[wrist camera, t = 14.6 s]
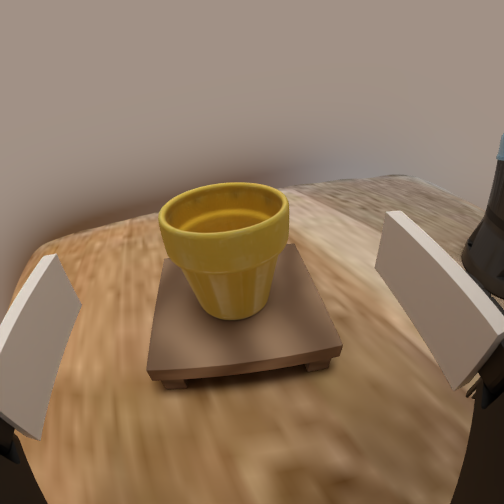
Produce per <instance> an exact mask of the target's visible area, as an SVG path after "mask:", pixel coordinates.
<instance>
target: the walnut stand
mask: <svg viewBox="0 0 504 504" xmlns="http://www.w3.org/2000/svg"><path fill="white" fill-rule="evenodd" d="M342 346H343V344H342V342H341V339H340V337H339V335H338V333H337V331H336V329H335V326H334V324H333V322H332V320H331V318H330V316H329V313H328V311H327V309H326V307H325V305H324V303H323V301H322V299H321V297H320V294H319V292H318V290H317V288H316V286H315V284H314V282H313V280H312V278H311V276H310V274H309V272H308V270H307V268H306V266H305V264H304V262H303V260H302V258H301V256H300V254H299V252H298V250H297V248H296V246H295V244H286V246H285V247H284V249H283V250H282V252H281V253H280V254H279V255H278V258H277V263H276V267H275V271H274V275H273V279H272V284H271V288H270V293H269V297H268V300H267V303H266V304H265V306H264V307H263V308H262V309H261V310H260V311H259V312H257V313H256V314H254V315H252V316H250V317H248V318H244V319H240V320H223V319H219V318H216V317H213V316H212V315H210V314H208V313H207V312H206V311H205V310H204V309H203V308H202V306H201V304H200V303H199V301H198V299H197V297H196V295H195V293H194V292H193V290H192V288H191V286H190V284H189V282H188V281H187V279H186V277H185V275H184V273H183V271H182V269H181V267H179V266H177V265H176V264H175V263H173V262H172V261H171V259H170V258H167V259H164V264H163V269H162V274H161V279H160V284H159V289H158V295H157V301H156V306H155V312H154V319H153V325H152V332H151V338H150V346H149V353H148V361H147V370H146V371H147V372H148V374H149V376H150V377H151V379H152V381H157V380H161V381H162V383H163V384H164V386H165V388H166V389H180V388H187V379H195V378H207V377H218V376H228V375H236V374H244V373H252V372H259V371H266V370H272V369H278V368H284V367H290V366H295V365H300V364H305V365H306V368H307V371H308V372H311V371H316V370H320V369H325V368H328V367H329V363H330V360H331V358H333V357H338V356H340V353H341V350H342Z"/></svg>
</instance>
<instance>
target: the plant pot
mask: <svg viewBox="0 0 504 504" xmlns="http://www.w3.org/2000/svg"><path fill="white" fill-rule="evenodd" d="M158 221H159V226H160V230H161V235H162V238H163V242H164V245H165V249H166V252H167V254H168V256H169V258H170V259H171V261H172V262H173V263H175V264H176V265H177V266H179V267H181V269H182V271H183V273H184V275H185V277H186V279H187V281H188V282H189V284H190V286H191V288H192V290H193V292H194V293H195V295H196V297H197V299H198V301H199V303H200V304H201V306H202V308H203V309H204V310H205V311H206V312H207V313H208V314H210V315H212V316H213V317H216V318H219V319H223V320H240V319H244V318H248V317H250V316H252V315H254V314H256V313H257V312H259V311H260V310H261V309H262V308H263V307H264V306H265V304H266V303H267V300H268V297H269V293H270V288H271V284H272V279H273V275H274V271H275V267H276V263H277V258H278V255H279V254H280V253H281V252H282V250H283V249H284V247H285V246H286V243H287V241H288V234H289V203H288V200H287V198H286V196H285V195H284V194H283V193H282V192H280V191H279V190H277V189H274V188H272V187H269V186H265V185H261V184H255V183H243V182H233V183H221V184H213V185H208V186H204V187H199V188H196V189H192V190H189V191H187V192H185V193H182V194H180V195H178V196H176V197H174V198H173V199H171V200H170V201H169V202H167V203H166V204H165V205H164V206H163V207H162V209H161V210H160V212H159V216H158Z"/></svg>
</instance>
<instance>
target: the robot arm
mask: <svg viewBox="0 0 504 504" xmlns="http://www.w3.org/2000/svg"><path fill="white" fill-rule="evenodd" d="M496 159H498V161H497V166H496V171H495V176H494V180H493V185H492V189H491V193H490V197H489V201H488V205H487V209H486V212H485V215H484V217H483V219H482V220H481V222H480V223H479V225H478V226H477V228H476V229H475V230H474V232H473V233H472V235H471V236H470V237H469V239H468V240H467V242H466V244H465V247H464V250H463V253H462V261H463V264H464V266H465V268H466V269H467V271H468V272H469V273H468V272H467V271H465V270H463V269H462V268H461V267H460V266H459V264H458V263H457V262H456V261H455V260H454V259H453V258H452V257H451V256H450V255H449V254H448V253H447V252H446V251H445V250H444V249H443V248H441V247H440V246H439V245H438V244H437V243H436V242H435V241H434V240H433V239H432V238H431V237H430V236H429V235H428V234H427V233H426V232H424V231H423V230H422V229H421V228H420V227H419V226H418V225H417V224H416V223H414V222H413V221H412V220H411V219H410V218H409V217H408V216H406V215H405V214H404V213H403V212H402V211H389V212H386V213H385V219H384V224H383V230H382V235H381V240H380V245H379V250H378V255H377V259H376V264H375V269H376V271H377V272H378V273H379V275H380V276H381V277H382V279H383V280H384V282H385V283H386V284H387V286H388V287H389V289H390V290H391V291H392V293H393V294H394V296H395V297H396V299H397V300H398V302H399V303H400V304H401V306H402V307H403V309H404V310H405V312H406V313H407V315H408V316H409V318H410V319H411V321H412V322H413V324H414V326H415V327H416V329H417V330H418V332H419V333H420V335H421V337H422V338H423V340H424V341H425V343H426V345H427V346H428V348H429V349H430V351H431V353H432V354H433V356H434V358H435V359H436V361H437V363H438V365H439V366H440V368H441V370H442V372H443V373H444V375H445V377H446V379H447V380H448V382H449V384H450V386H451V388H452V390H453V391H455V390H457V389H459V388H461V387H462V386H464V385H466V384H468V383H469V382H470V381H471V380H472V378H473V377H474V376H475V375H476V374H477V373H479V375H480V376H481V377H480V378H479V379H478V380H477V381H476V383H475V384H474V385H473V386H472V387H471V388H470V389H469V390H468V392H467V394H466V397H467V398H468V397H469V396H470V395H471V394H472V393H473V392H474V391H475V390H476V393H475V394H474V395H473V396H472V399H475V404H474V412H473V419H472V425H471V430H470V436H469V440H468V445H467V450H466V454H465V458H464V462H463V466H462V469H461V473H460V476H459V479H458V483H457V486H456V489H455V492H454V495H453V498H452V500H451V503H450V504H504V310H503V308H502V307H501V306H500V305H499V304H498V302H497V301H496V300H495V299H494V298H493V297H491V294H490V293H489V292H488V291H490V292H491V293H493V294H495V295H497V296H499V297H501V298H504V134H503V135H502V137H501V142H500V148H499V152H498V155H497V157H496ZM484 288H485V289H484ZM486 289H487V290H488V291H487V290H486ZM81 306H82V304H81V302H80V300H79V299H78V297H77V295H76V293H75V291H74V289H73V287H72V285H71V283H70V281H69V279H68V277H67V275H66V273H65V271H64V269H63V267H62V265H61V262H60V260H59V258H58V256H57V254H52V255H47V256H43V258H42V259H41V260H40V262H39V263H38V265H37V266H36V267H35V269H34V270H33V272H32V273H31V275H30V276H29V278H28V279H27V281H26V282H25V284H24V286H23V287H22V289H21V290H20V292H19V294H18V295H17V297H16V298H15V300H14V302H13V304H12V305H11V307H10V309H9V310H8V312H7V314H6V316H5V318H4V319H3V321H2V323H1V325H0V504H48V503H47V501H46V500H45V498H44V496H43V494H42V492H41V490H40V488H39V486H38V484H37V482H36V480H35V477H34V475H33V473H32V471H31V468H30V466H29V464H28V461H27V459H26V456H25V454H24V451H23V448H22V446H21V443H20V440H19V438H18V437H17V436H16V435H15V434H14V429H16V430H17V431H19V432H20V433H22V434H23V435H25V436H26V437H29V438H33V439H36V440H39V441H40V440H41V435H42V430H43V425H44V420H45V416H46V412H47V408H48V404H49V400H50V396H51V392H52V389H53V385H54V382H55V378H56V375H57V372H58V368H59V365H60V362H61V359H62V356H63V353H64V350H65V347H66V345H67V342H68V339H69V336H70V334H71V331H72V328H73V326H74V323H75V321H76V318H77V316H78V313H79V311H80V308H81Z"/></svg>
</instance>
